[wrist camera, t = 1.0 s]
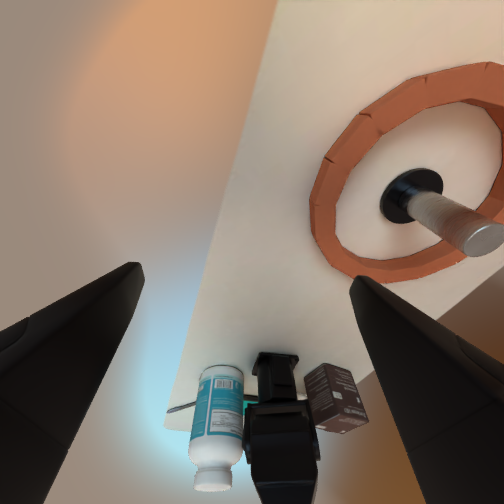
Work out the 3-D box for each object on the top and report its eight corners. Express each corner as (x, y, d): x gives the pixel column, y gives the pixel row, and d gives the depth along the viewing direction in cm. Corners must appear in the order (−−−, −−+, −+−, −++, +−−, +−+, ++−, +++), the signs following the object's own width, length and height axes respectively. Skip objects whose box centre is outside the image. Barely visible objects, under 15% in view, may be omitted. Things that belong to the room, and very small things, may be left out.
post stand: (416, 225, 21) (487, 277, 15) (370, 216, 21) (423, 267, 14) (452, 174, 18) (558, 211, 12) (399, 162, 18) (482, 195, 12)
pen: (219, 398, 42) (167, 415, 46) (220, 395, 42) (168, 412, 46) (216, 395, 41) (164, 412, 46) (217, 392, 42) (166, 409, 46)
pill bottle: (212, 387, 40) (199, 495, 29) (193, 368, 36) (168, 485, 25) (250, 380, 39) (250, 491, 28) (234, 359, 35) (227, 479, 24)
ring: (431, 281, 26) (442, 292, 24) (287, 259, 23) (289, 270, 22) (591, 101, 16) (627, 101, 14) (366, 36, 14) (380, 28, 12)
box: (351, 370, 37) (371, 422, 31) (328, 385, 40) (342, 434, 34) (324, 362, 36) (339, 414, 30) (302, 377, 39) (312, 428, 33)
